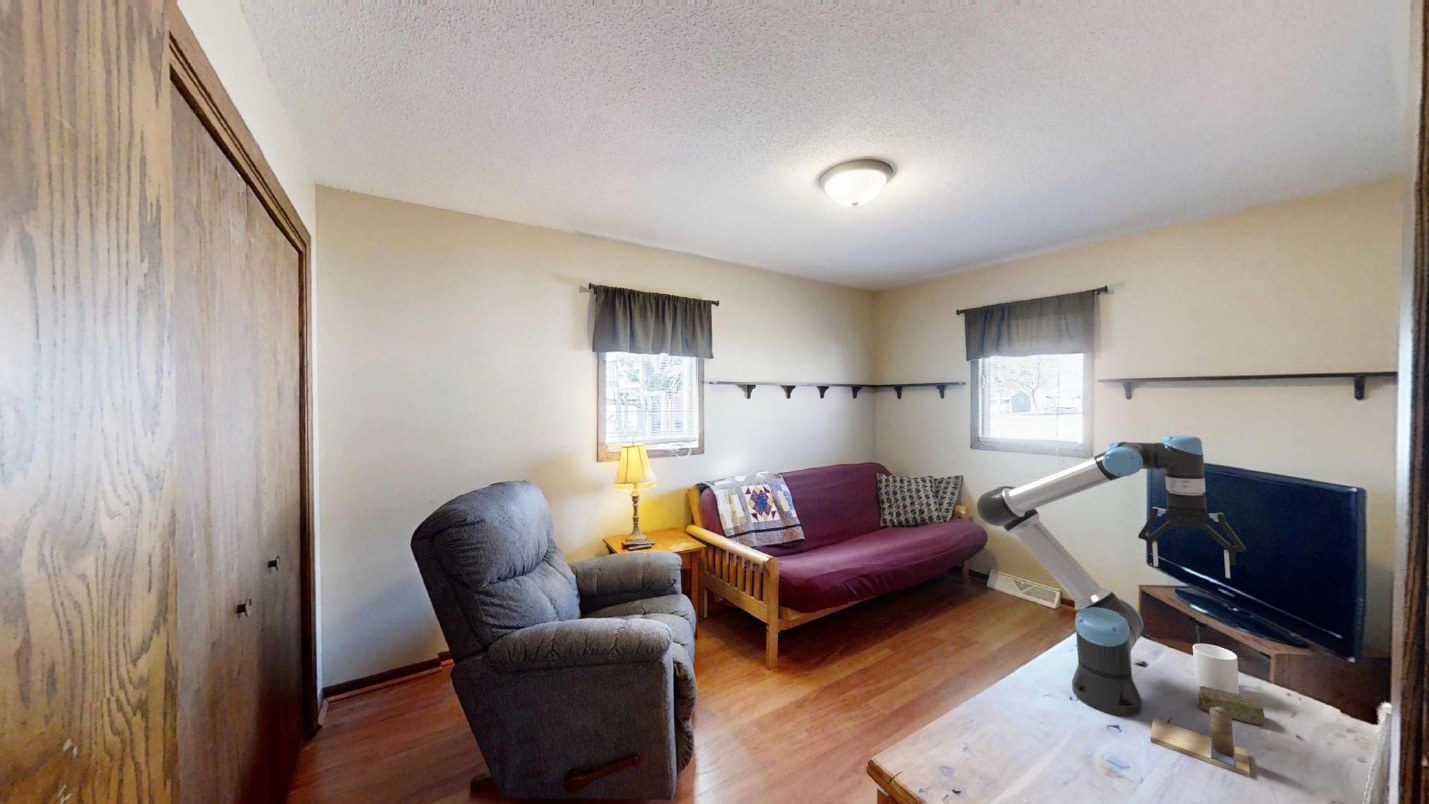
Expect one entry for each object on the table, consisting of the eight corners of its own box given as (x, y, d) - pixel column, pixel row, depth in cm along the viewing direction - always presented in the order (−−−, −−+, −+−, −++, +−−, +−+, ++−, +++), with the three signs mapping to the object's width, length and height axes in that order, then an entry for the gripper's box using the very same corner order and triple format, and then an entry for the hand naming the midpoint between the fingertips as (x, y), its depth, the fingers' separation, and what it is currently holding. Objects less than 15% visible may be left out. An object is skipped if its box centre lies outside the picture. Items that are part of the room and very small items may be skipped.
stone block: (1267, 729, 116) (1265, 709, 116) (1201, 712, 123) (1199, 694, 123) (1259, 716, 120) (1257, 696, 120) (1196, 701, 127) (1195, 683, 127)
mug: (1253, 690, 130) (1250, 652, 130) (1229, 701, 126) (1226, 662, 126) (1211, 674, 138) (1209, 638, 138) (1188, 684, 134) (1185, 647, 134)
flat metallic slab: (1150, 741, 113) (1150, 735, 113) (1160, 681, 136) (1160, 676, 136) (1250, 777, 102) (1249, 770, 102) (1242, 705, 124) (1242, 699, 124)
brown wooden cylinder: (1212, 751, 108) (1209, 708, 108) (1212, 743, 110) (1209, 702, 110) (1234, 758, 105) (1231, 715, 105) (1233, 750, 107) (1230, 708, 108)
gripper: (1123, 490, 132) (1127, 564, 132) (1256, 500, 114) (1262, 586, 114) (1126, 486, 137) (1130, 557, 137) (1254, 495, 119) (1260, 577, 119)
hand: (1190, 570), depth 125 cm, fingers open, 13 cm apart
